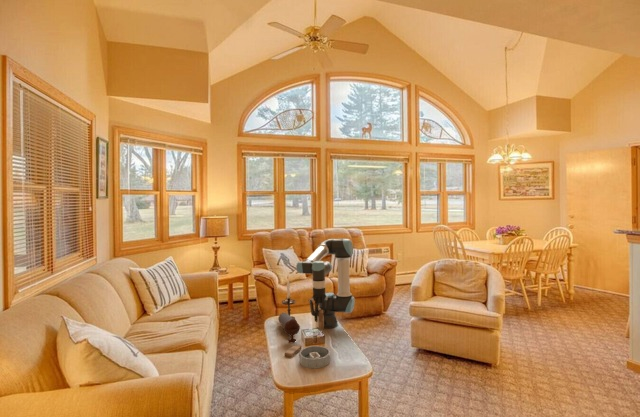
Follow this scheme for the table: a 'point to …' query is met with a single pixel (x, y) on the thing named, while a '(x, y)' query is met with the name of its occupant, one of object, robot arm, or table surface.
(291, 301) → the candlestick
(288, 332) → the ice cream bowl
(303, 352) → the grey pet bowl
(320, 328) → the wick slat
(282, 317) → the bluetooth speaker
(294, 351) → the slat
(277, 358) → the table surface
